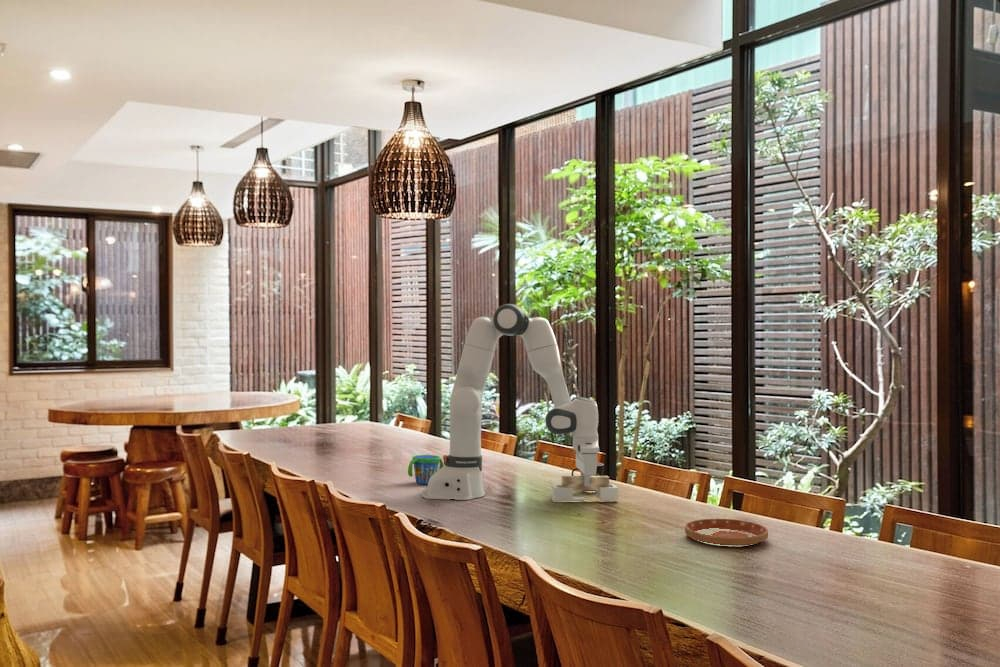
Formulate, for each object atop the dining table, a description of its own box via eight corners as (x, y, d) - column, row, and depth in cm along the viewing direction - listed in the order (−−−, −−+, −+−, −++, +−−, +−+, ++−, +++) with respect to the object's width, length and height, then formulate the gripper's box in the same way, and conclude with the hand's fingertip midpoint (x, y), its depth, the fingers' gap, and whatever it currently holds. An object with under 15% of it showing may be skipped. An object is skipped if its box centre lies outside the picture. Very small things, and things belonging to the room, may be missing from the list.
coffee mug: (603, 489, 314) (603, 462, 314) (603, 494, 306) (604, 466, 306) (571, 488, 316) (571, 461, 316) (571, 493, 307) (571, 465, 307)
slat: (563, 490, 292) (563, 477, 292) (561, 489, 295) (561, 476, 295) (609, 490, 293) (609, 477, 293) (607, 488, 296) (607, 475, 296)
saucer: (709, 552, 228) (710, 539, 228) (670, 532, 250) (671, 520, 250) (784, 547, 234) (784, 534, 234) (740, 528, 256) (740, 516, 256)
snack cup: (436, 479, 332) (436, 453, 332) (450, 483, 324) (451, 456, 323) (401, 483, 323) (401, 456, 323) (415, 487, 314) (415, 460, 314)
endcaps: (554, 502, 290) (554, 488, 290) (551, 498, 297) (551, 484, 296) (618, 502, 291) (618, 487, 291) (613, 498, 298) (614, 484, 298)
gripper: (571, 440, 304) (571, 479, 304) (581, 448, 284) (581, 490, 284) (588, 440, 305) (588, 479, 305) (600, 448, 284) (600, 490, 284)
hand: (585, 484), depth 294 cm, fingers closed on slat, 3 cm apart
